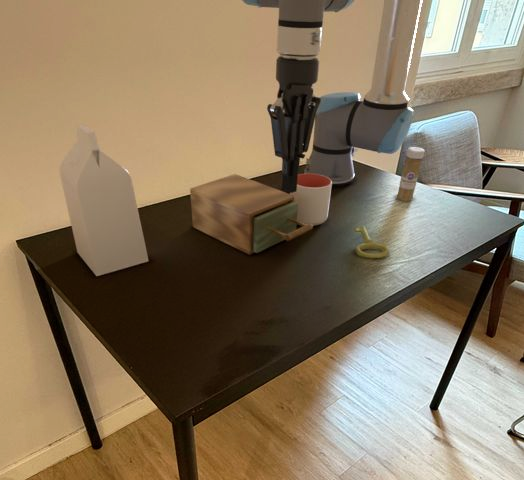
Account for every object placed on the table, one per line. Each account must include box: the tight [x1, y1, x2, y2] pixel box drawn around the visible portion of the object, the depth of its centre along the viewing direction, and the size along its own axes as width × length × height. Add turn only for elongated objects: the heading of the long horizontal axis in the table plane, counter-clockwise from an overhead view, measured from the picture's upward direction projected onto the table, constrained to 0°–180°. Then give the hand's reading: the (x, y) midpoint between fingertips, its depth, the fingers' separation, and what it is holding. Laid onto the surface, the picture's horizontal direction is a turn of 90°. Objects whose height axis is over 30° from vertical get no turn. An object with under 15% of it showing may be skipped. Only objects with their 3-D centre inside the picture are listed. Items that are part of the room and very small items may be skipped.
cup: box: [289, 173, 333, 227], centre depth 113 cm, size 10×10×10 cm
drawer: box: [252, 201, 314, 254], centre depth 104 cm, size 25×13×8 cm, turn 47°
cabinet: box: [189, 173, 294, 256], centre depth 107 cm, size 20×15×10 cm
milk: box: [59, 124, 150, 277], centre depth 90 cm, size 12×12×26 cm
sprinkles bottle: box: [396, 146, 425, 202], centre depth 124 cm, size 5×5×13 cm
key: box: [353, 226, 389, 259], centre depth 105 cm, size 7×12×2 cm, turn 23°
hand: (289, 190), depth 94 cm, fingers closed
